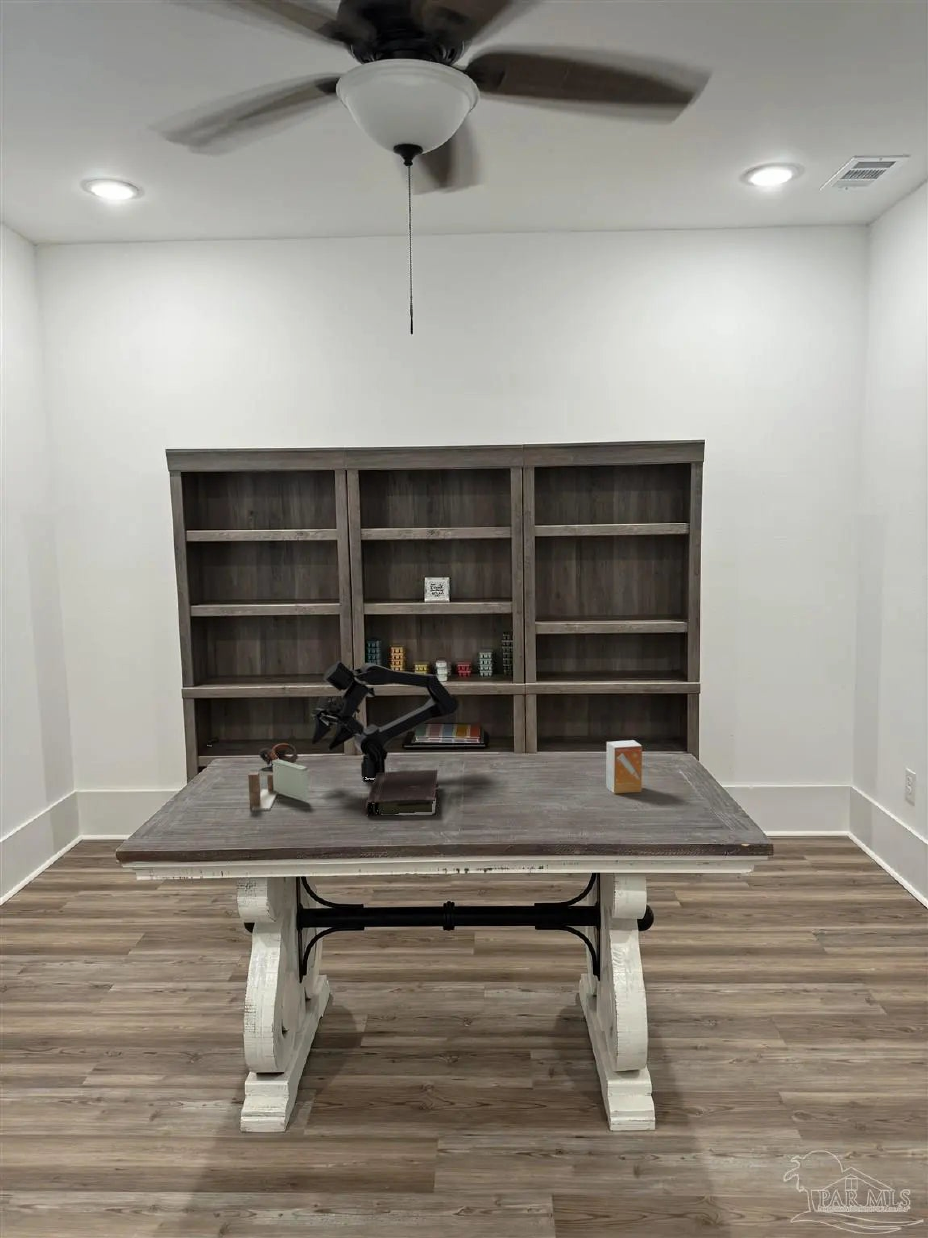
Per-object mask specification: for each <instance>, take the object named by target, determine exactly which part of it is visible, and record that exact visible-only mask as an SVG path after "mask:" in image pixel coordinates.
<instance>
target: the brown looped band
mask: <svg viewBox="0 0 928 1238" xmlns="http://www.w3.org/2000/svg"><path fill="white" fill-rule="evenodd" d="M289 749H290V750H291V751H292V752H293V754H292V755H291V756H288V755H286V752H287V751H289ZM258 755H259V757H260V759H261V760H262V761H264V762H265V763H266V764H267V766H269V765H270V764H271V765H272V761H273V760H277V759H278V758H279V760H283V761H286V762H290V763H293V764H295V763H296V762H297V760H298V759H299V755H298V754H297V749H296V748H295V746H293V745H292V744H288V743H278V744H275V746H273V747H272V749H271V748H267V747H263V748H260V750H259V753H258Z"/></svg>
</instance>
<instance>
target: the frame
mask: <svg viewBox="0 0 928 1238" xmlns="http://www.w3.org/2000/svg"><path fill="white" fill-rule="evenodd" d="M247 776H248V794H249V795H248V796H249V799H248V800H249V809H251V812H258V811H259V812H260V811H270V810H271V808H272V807H273V804H274V802H275V800H276V798H277V797H278V794H279V792H277V791H274V786H273V772H271V773H267V774H266V780H267V781H266V782H267V789H265V788H264V789H261V784H260V783H261V782H260V781H261V780H260V771H249V773H248V775H247Z"/></svg>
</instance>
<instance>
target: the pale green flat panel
mask: <svg viewBox="0 0 928 1238" xmlns="http://www.w3.org/2000/svg"><path fill="white" fill-rule="evenodd" d="M272 764H273V765H272ZM272 764H271V765H272V773H273V786H274V791H277V792H278V793H279V794H280V793H281V794H283V795H286V796H288V797H289V796H290V797H293V798H295V799H298V800H302V801H305V800H308V799H309V780H308V778H309V777H308V776H309V775H308V770H309V769H308V767H307V766H304V765H300V764H296V763H294V764H293V763H290V762H286V761H283V760H279V759H277V760H273V761H272Z"/></svg>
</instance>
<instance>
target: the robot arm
mask: <svg viewBox="0 0 928 1238" xmlns="http://www.w3.org/2000/svg"><path fill="white" fill-rule="evenodd" d="M323 680H324V681H325V682H326V683H328V684H329V685H330V686H331V687H333V688H334V689H336V690H337V691H338V692H341V691H344V693H343V694H342V696H341V697H340V696H338V695H337V696H336V695H334V696H333V697H327V696H325V695H324V696H323V695H320V696H319V698H318V701H317V704H316V707H317V708H313V710H312V712H311V713H310V714H311V716H312V717H313V720H314V722H315V727H314V732H313V736H312V739H311V742H310V743H311V745H313V746H315V745H317V743H318V742H320V741H321V740H322V739H323V738H324V737H325V736H326V735H327V734H328V733H329V732H330V731H332V728H331V727H333V726H334V725H336V731H335V733H334V735H333V737H332V738H331V740H330V742H329V744H328V746H327V749H328V750H330V751H333V750H334V749H335V748H337V747H338V746H339V745H341V744H343V743H345V742H347V741H349V740H351V739H352V738H354V746H355V748H356V749H358V750H359V751H360V753H362V755H363V757H362V760H361V763H360V769H361V770H360V771H361V778H362V781H363V780H365V779H366V778H365V777H367V778H375V777H376V774H377V773H385V772H386V760H387V758H388V755H389V754H388V751H387V750H386V749H384V748H385V747H386V745H387V744H388V743H389V742H390V741H391V740H393V739H395V738H397V737H399V736H401V735H402V734H405V733H407V732H409V731H411V730H413V729H414V728H417V727H418V726H420V725H422V724H424V723H427V722H428V721H431V720H432V719H434V720H435V719H438V718H444V717H445V718H446V717H447V716H451V715H453V714H454V713H456V712H457V710H458V707H459V703H458V700H457V698H456V697H455V696H453V695H452V694H451V693H450V692H449V691H448V690H447V689H446V687H445V686H444V685H443V684H442V682H441V681H440V680H439V678H438V676H436V675H434V674H431V673H420V672H412V671H411V672H410V671H404V670H396V669H390V668H387V667H386V666H385V667H384V666H381V665H379V664H376V663H372V662H365V663H364V664H363V665H362V666H360V667H359V668H358V667H357V668H356V669H352V670H350V669H349V668H348V667H347V666H346V665H345V664H344V662H341V661H340V660H337V662H335V664H332V665H331V666H330V668H328V669H327V670H326V671H325V673H324V675H323ZM364 682H365V683H366V684H368V685H371V686H385V685H393V684H396V685H403V686H411V687H420V688H426V691H427V693H428V694H429V696H430V698H429V699H428V700H427V701H426V703H425V704H423V706H421V707H419V708H417V709H414V710H413V711H411V712H409V713H407V714H405V715H403V716H401V717H399V718H397V719H396V720H393V721H391V722H389V723H387V724H385V725H383V726H380V727H378V726H376V725H375V724H373V723H372V724H370V725H368V726H367V727H365V725H363V724H362V723H361V722H360V721H359V720H358V719H357V718H355V717H354V715H356V714H358V715H359V713H360V712H361V709H359V708H360V707H361V705H362V703H364V701H365V699H366V698H367V697H368V698H372V697H373V698H374V697H376V693H375V687H369V686H368V685H366V684H365V683H364ZM363 777H364V778H363Z"/></svg>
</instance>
